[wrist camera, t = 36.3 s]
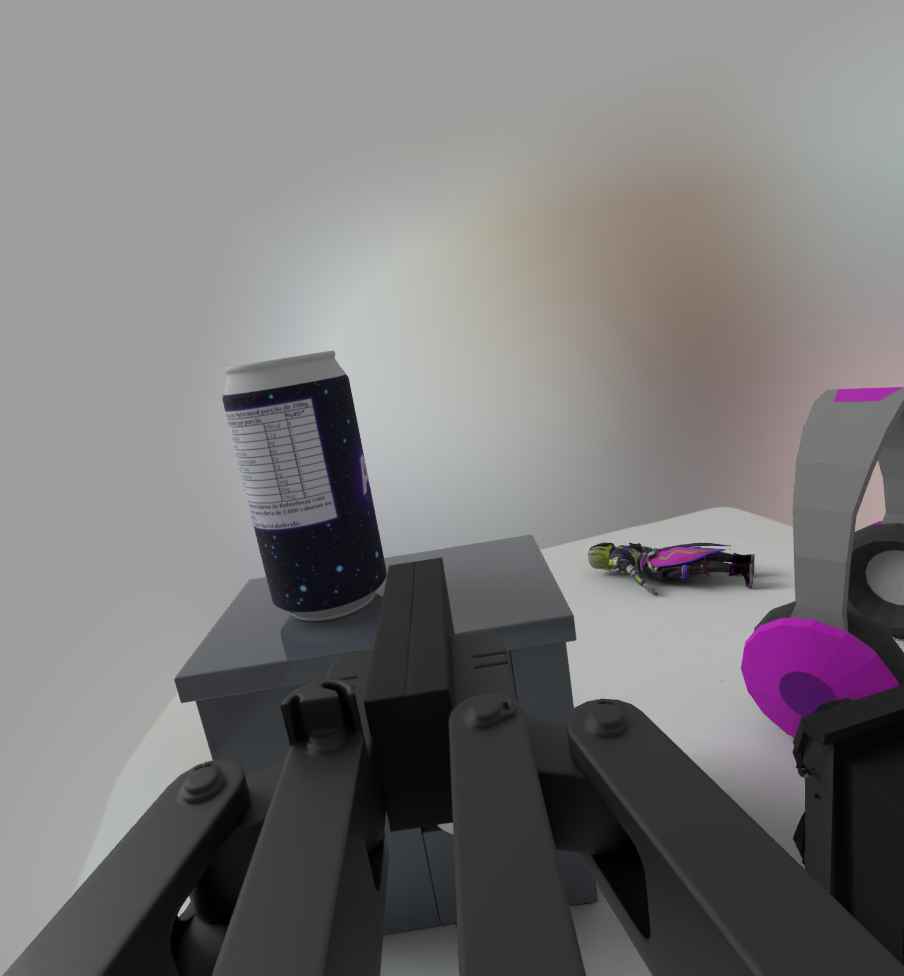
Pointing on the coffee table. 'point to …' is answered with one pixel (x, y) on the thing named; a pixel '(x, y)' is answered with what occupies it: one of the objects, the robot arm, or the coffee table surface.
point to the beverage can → (306, 484)
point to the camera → (856, 808)
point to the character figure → (670, 561)
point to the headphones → (838, 565)
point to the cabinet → (318, 644)
